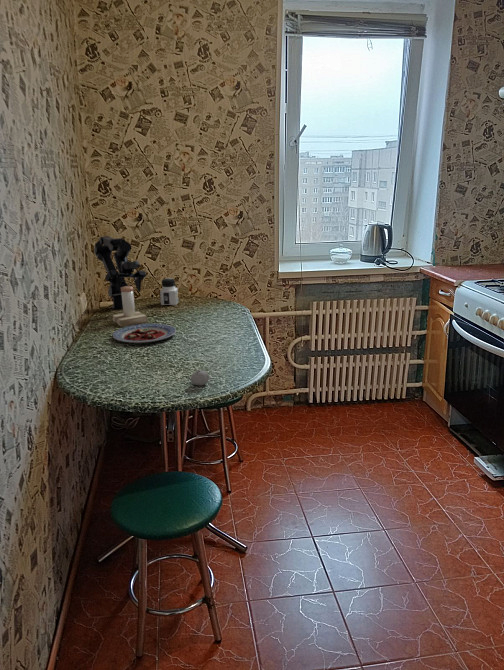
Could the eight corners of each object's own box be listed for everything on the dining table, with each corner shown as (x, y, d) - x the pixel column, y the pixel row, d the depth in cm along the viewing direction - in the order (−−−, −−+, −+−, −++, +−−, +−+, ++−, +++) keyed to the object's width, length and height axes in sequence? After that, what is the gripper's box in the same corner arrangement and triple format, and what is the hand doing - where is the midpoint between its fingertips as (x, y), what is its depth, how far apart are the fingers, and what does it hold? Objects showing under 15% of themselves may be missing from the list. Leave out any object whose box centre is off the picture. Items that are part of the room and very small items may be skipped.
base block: (113, 321, 248) (112, 314, 247) (137, 317, 254) (137, 310, 253) (121, 326, 238) (121, 320, 237) (147, 322, 244) (146, 316, 243)
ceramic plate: (163, 348, 209) (163, 340, 208) (102, 345, 214) (101, 338, 213) (184, 329, 233) (184, 322, 232) (128, 327, 238) (128, 321, 237)
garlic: (196, 389, 168) (195, 373, 167) (187, 384, 172) (187, 368, 171) (212, 384, 172) (212, 369, 170) (204, 379, 176) (203, 364, 174)
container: (176, 305, 274) (174, 280, 270) (161, 305, 274) (159, 280, 270) (178, 302, 281) (176, 277, 277) (163, 302, 281) (161, 277, 278)
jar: (125, 313, 248) (122, 286, 244) (137, 313, 247) (134, 286, 243) (121, 317, 243) (118, 288, 239) (133, 316, 242) (130, 288, 238)
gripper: (111, 253, 244) (119, 284, 240) (147, 254, 256) (156, 283, 252) (101, 265, 251) (109, 295, 247) (136, 265, 264) (145, 294, 260)
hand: (130, 291), depth 251 cm, fingers open, 9 cm apart
